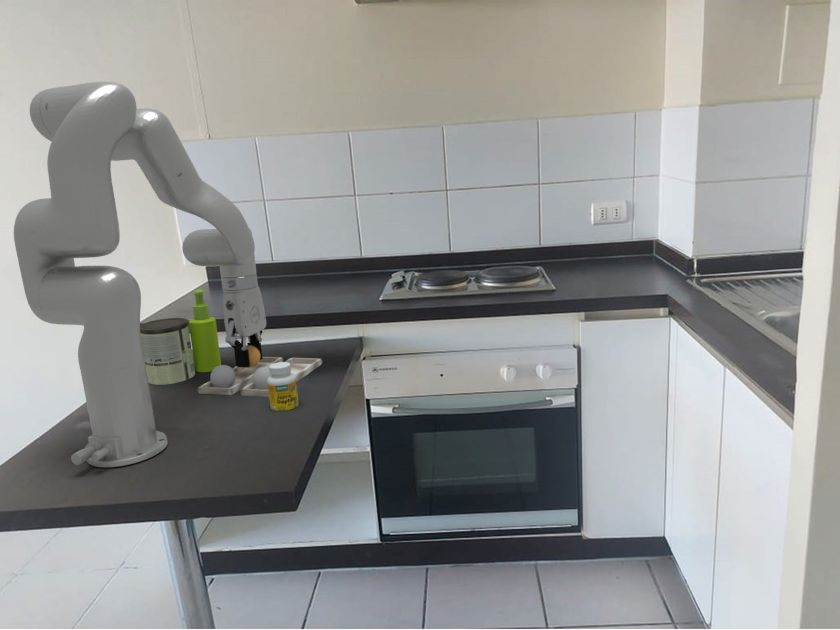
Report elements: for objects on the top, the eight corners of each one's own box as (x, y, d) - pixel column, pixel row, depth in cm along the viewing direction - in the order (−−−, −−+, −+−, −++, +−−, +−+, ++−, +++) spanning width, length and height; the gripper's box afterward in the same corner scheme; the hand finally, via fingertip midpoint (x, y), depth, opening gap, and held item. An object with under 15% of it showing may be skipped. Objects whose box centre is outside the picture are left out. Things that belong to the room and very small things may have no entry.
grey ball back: (228, 392, 127) (225, 369, 126) (207, 391, 128) (203, 368, 127) (241, 384, 131) (238, 362, 130) (220, 383, 133) (217, 361, 132)
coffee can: (145, 382, 142) (135, 322, 139) (191, 373, 147) (183, 315, 144) (151, 394, 133) (141, 331, 130) (200, 384, 138) (192, 323, 135)
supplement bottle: (293, 405, 122) (288, 358, 120) (304, 413, 117) (299, 365, 115) (267, 412, 119) (261, 364, 117) (276, 420, 114) (271, 371, 112)
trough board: (276, 406, 122) (275, 393, 121) (193, 401, 127) (192, 389, 127) (326, 368, 144) (325, 357, 144) (254, 365, 150) (253, 355, 149)
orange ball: (254, 371, 136) (251, 349, 135) (234, 370, 138) (231, 348, 137) (265, 364, 141) (263, 343, 140) (246, 363, 142) (243, 342, 141)
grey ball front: (271, 394, 124) (269, 371, 123) (249, 393, 125) (246, 370, 124) (283, 386, 129) (281, 363, 128) (262, 385, 130) (259, 362, 129)
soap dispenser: (220, 367, 150) (210, 286, 145) (223, 375, 144) (212, 291, 139) (195, 371, 148) (184, 289, 143) (196, 379, 141) (185, 294, 137)
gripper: (233, 290, 126) (244, 375, 130) (274, 276, 142) (282, 352, 146) (201, 290, 128) (213, 374, 132) (245, 276, 144) (254, 352, 148)
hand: (249, 362), depth 139 cm, fingers closed on orange ball, 4 cm apart
